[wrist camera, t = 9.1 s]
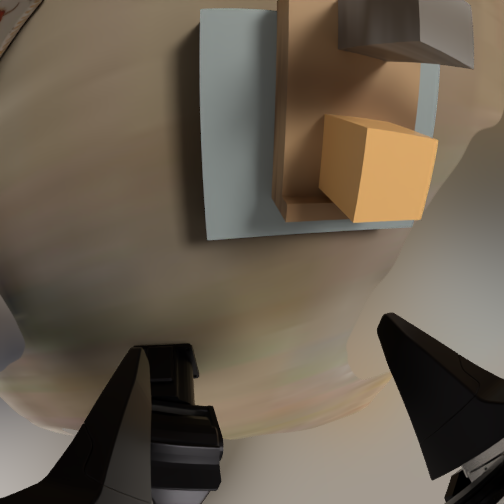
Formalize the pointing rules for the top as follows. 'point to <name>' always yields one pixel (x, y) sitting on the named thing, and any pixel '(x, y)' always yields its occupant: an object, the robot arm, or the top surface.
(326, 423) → the top surface
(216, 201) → the pale grey flat slab
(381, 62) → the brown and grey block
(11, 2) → the decorative jar
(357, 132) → the orange cube
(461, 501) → the robot arm
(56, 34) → the top surface
